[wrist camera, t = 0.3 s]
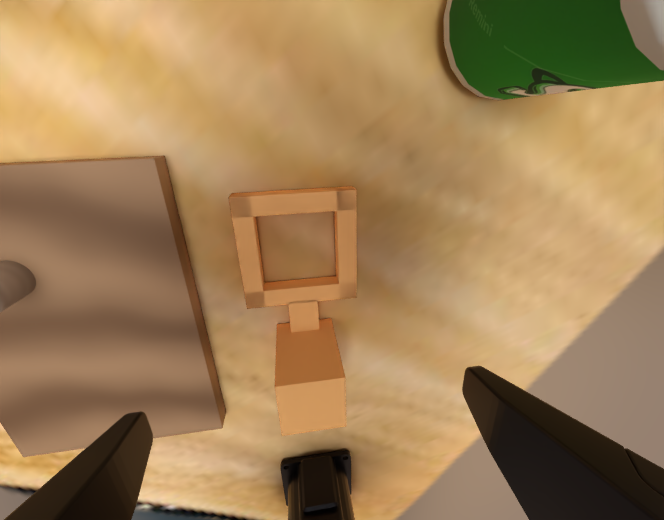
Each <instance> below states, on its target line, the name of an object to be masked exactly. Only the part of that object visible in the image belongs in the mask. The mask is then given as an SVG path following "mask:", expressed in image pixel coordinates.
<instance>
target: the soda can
mask: <svg viewBox="0 0 664 520" xmlns="http://www.w3.org/2000/svg"><path fill="white" fill-rule="evenodd" d="M444 46H445V50H446V53H447V57H448V60H449V64H450V67H451V69H452V71H453V72H454V74H455V75H456V76H457V78H458V79H459V81H460V82H461V84H462V85H463V86H464V87H466V88H467V89H468V90H470V91H471V92H473V93H474V94H476V95H477V96H479V97H484V98H489V99H494V100H504V99H513V98H521V97H529V96H538V95H546V94H554V93H563V92H571V91H580V90H588V89H596V88H605V87H613V86H621V85H630V84H638V83H647V82H655V81H663V80H664V0H447V5H446V9H445V13H444Z"/></svg>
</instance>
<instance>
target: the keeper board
mask: <svg viewBox="0 0 664 520" xmlns="http://www.w3.org/2000/svg"><path fill="white" fill-rule="evenodd" d="M140 411H142V412H144V413H145V414H146V416H147V419H148V421H149V424H150V427H151V430H152V433H153V438H159V437H165V436H172V435H179V434H186V433H193V432H200V431H207V430H214V429H221V428H223V423H224V418H225V414H226V411H225V406H224V402H223V398H222V394H221V390H220V386H219V381H218V377H217V373H216V369H215V365H214V361H213V356H212V352H211V348H210V344H209V340H208V336H207V331H206V327H205V323H204V319H203V315H202V311H201V306H200V302H199V298H198V294H197V290H196V286H195V281H194V277H193V273H192V269H191V265H190V261H189V256H188V252H187V248H186V244H185V240H184V236H183V232H182V227H181V223H180V219H179V215H178V211H177V207H176V202H175V198H174V194H173V190H172V186H171V182H170V177H169V173H168V169H167V165H166V161H165V157H164V156H152V157H130V158H108V159H86V160H64V161H42V162H20V163H0V423H1V424H2V426H3V427H4V429H5V430H6V432H7V433H8V435H9V436H10V438H11V439H12V441H13V442H14V444H15V445H16V447H17V448H18V450H19V451H20V453H21V454H22V456H23V457H27V456H34V455H41V454H48V453H55V452H62V451H69V450H76V449H83V448H87V447H88V446H89V445H90V444H92V443H93V442H94V441H95V440H96V439H97V438H98V437H100V436H101V435H102V434H103V433H104V432H105V431H107V430H108V429H109V428H110V427H111V426H112V425H113V424H115V423H116V422H117V421H118V420H119V419H120V418H121V417H123V416H124V415H125V414H127V413H132V412H140Z"/></svg>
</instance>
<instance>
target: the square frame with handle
mask: <svg viewBox="0 0 664 520" xmlns="http://www.w3.org/2000/svg"><path fill="white" fill-rule="evenodd" d="M228 198H229V204H230V210H231V216H232V222H233V228H234V234H235V240H236V246H237V252H238V257H239V263H240V269H241V275H242V281H243V287H244V293H245V299H246V305H247V309H250V308H260V307H269V306H279V305H288V308H289V317H290V323H283V324H277V341H276V368H275V392H276V399H277V406H278V413H279V420H280V426H281V433H282V436H285V435H292V434H298V433H305V432H312V431H318V430H325V429H331V428H338V427H345V426H346V386H345V374H344V370H343V366H342V362H341V358H340V353H339V349H338V345H337V341H336V337H335V333H334V329H333V325H332V320H331V318H329V319H320V320H319V315H318V301H328V300H337V299H347V298H357V250H356V189H355V188H354V187H353V186H346V187H330V188H313V189H297V190H280V191H264V192H247V193H232V194H231V195H230V196H229V197H228ZM328 211H334V219H335V251H336V276H330V277H320V278H309V279H298V280H288V281H277V282H266V283H264V276H263V269H262V261H261V254H260V247H259V240H258V232H257V225H256V218H255V217H256V216H270V215H285V214H299V213H313V212H328Z"/></svg>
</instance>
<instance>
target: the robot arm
mask: <svg viewBox="0 0 664 520" xmlns="http://www.w3.org/2000/svg"><path fill="white" fill-rule="evenodd" d="M462 390H463V395H464V398H465V400H466V402H467V404H468V407H469V409H470V411H471V413H472V415H473V417H474V420H475V422H476V424H477V426H478V428H479V430H480V433H481V435H482V437H483V439H484V441H485V443H486V445H487V447H488V449H489V451H490V453H491V455H492V456H493V458H494V460H495V461H496V463H497V465H498V467H499V468H500V470H501V472H502V474H503V475H504V477H505V479H506V480H507V482H508V484H509V486H510V487H511V489H512V491H513V493H514V494H515V496H516V498H517V499H518V501H519V503H520V505H521V506H522V508H523V510H524V511H525V513H526V515H527V517H528V518H529V520H664V469H663V468H661V467H659V466H657V465H656V464H654V463H652V462H650V461H649V460H647V459H645V458H643V457H641V456H640V455H638V454H636V453H634V452H633V451H631V450H629V449H624V447H623V446H621V445H620V444H618V443H616V442H615V441H613V440H611V439H609V438H607V437H606V436H604V435H602V434H600V433H599V432H597V431H595V430H593V429H592V428H590V427H588V426H586V425H584V424H583V423H581V422H579V421H577V420H576V419H574V418H572V417H570V416H569V415H567V414H565V413H563V412H562V411H560V410H558V409H556V408H554V407H553V406H551V405H549V404H547V403H546V402H544V401H542V400H540V399H539V398H537V397H535V396H533V395H531V394H530V393H528V392H526V391H524V390H523V389H521V388H519V387H517V386H515V385H514V384H512V383H510V382H508V381H507V380H505V379H503V378H501V377H500V376H498V375H496V374H494V373H492V372H491V371H489V370H487V369H485V368H484V367H482V366H473V367H468V368H466V370H465V375H464V381H463V388H462ZM152 442H153V433H152V430H151V427H150V424H149V421H148V419H147V416H146V414H145V413H144V412H142V411H140V412H132V413H127V414H125V415H124V416H123V417H121V418H120V419H119V420H118V421H117V422H116V423H115V424H113V425H112V426H111V427H110V428H109V429H108V430H107V431H105V432H104V433H103V434H102V435H101V436H100V437H98V438H97V439H96V440H95V441H94V442H93V443H92V444H90V445H89V446H88V447H87V448H86V449H85V450H83V451H82V452H81V453H80V454H79V455H78V456H77V457H75V458H74V459H73V460H72V461H71V462H70V463H69V464H67V465H66V466H65V467H64V468H63V469H62V470H60V471H59V472H58V473H57V474H56V475H55V476H54V477H52V478H51V479H50V480H49V481H48V482H47V483H45V484H44V485H43V486H42V487H41V488H40V489H39V490H37V491H36V492H35V493H34V494H33V495H32V496H31V497H29V498H28V499H27V500H26V501H25V502H24V503H22V504H21V505H20V506H19V507H18V508H17V509H16V510H14V511H13V512H12V513H11V514H10V515H9V516H8V517H6V518H5V519H4V520H131V519H132V516H133V513H134V510H135V507H136V503H137V500H138V496H139V492H140V489H141V485H142V481H143V477H144V473H145V469H146V465H147V462H148V458H149V454H150V450H151V446H152ZM281 474H282V480H283V486H284V493H285V499H286V505H287V506H288V520H355V518H354V513H353V507H352V502H351V496H350V495H351V456H350V452H349V451H347V450H344V451H338V452H332V453H325V454H319V455H313V456H307V457H300V458H294V459H288V460H284V461H282V462H281Z"/></svg>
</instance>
